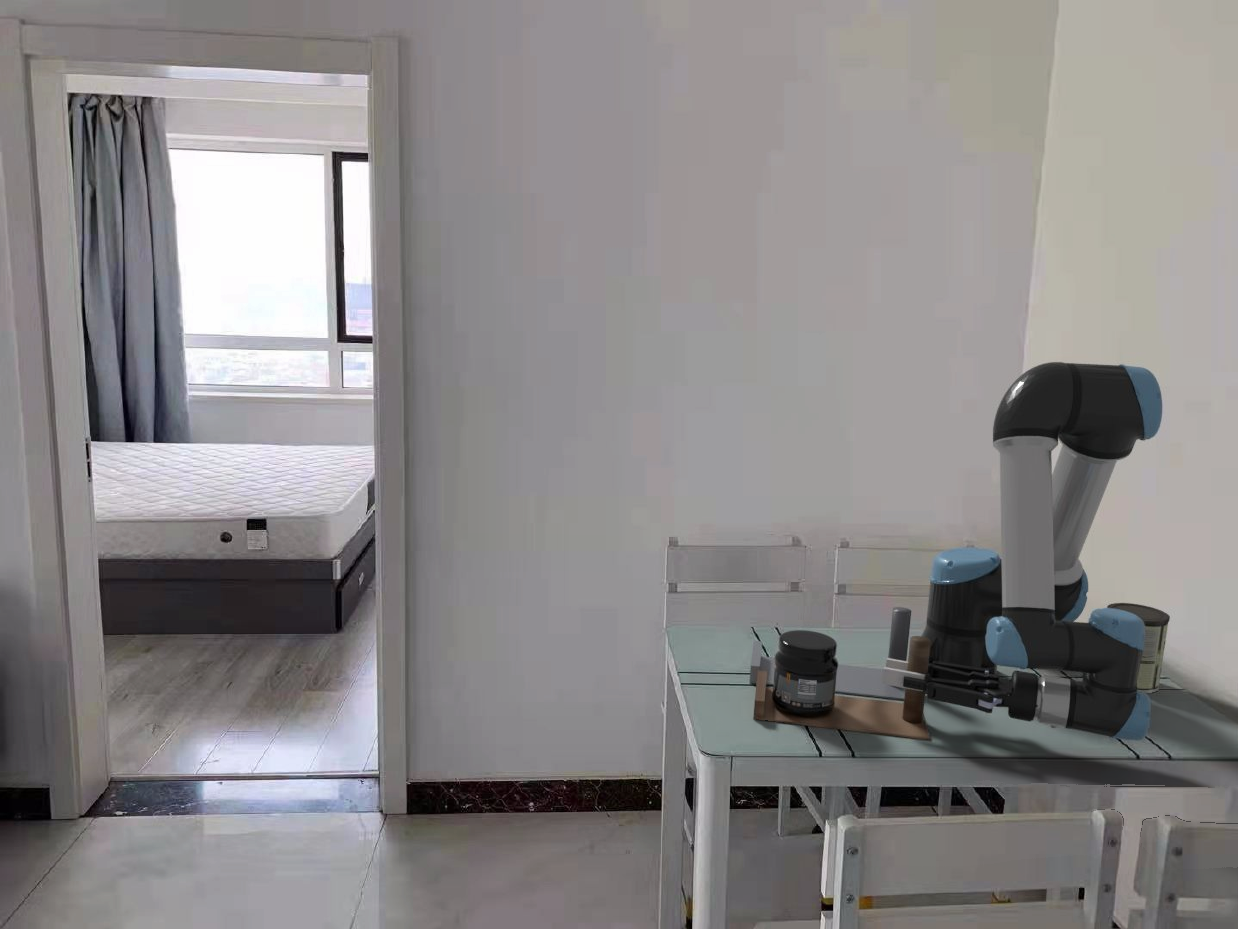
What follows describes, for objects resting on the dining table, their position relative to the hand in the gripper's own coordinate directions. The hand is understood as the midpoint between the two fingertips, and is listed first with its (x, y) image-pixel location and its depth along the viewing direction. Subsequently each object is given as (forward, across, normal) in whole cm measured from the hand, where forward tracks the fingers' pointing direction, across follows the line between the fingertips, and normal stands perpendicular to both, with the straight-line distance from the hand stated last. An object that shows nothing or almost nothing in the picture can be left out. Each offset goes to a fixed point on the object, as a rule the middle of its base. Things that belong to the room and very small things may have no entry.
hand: (884, 670), depth 157 cm
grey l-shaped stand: (+11, +12, -8) cm, 18 cm away
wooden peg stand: (+7, -2, -8) cm, 11 cm away
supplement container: (+12, -4, -8) cm, 15 cm away
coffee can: (-41, +37, -8) cm, 56 cm away
